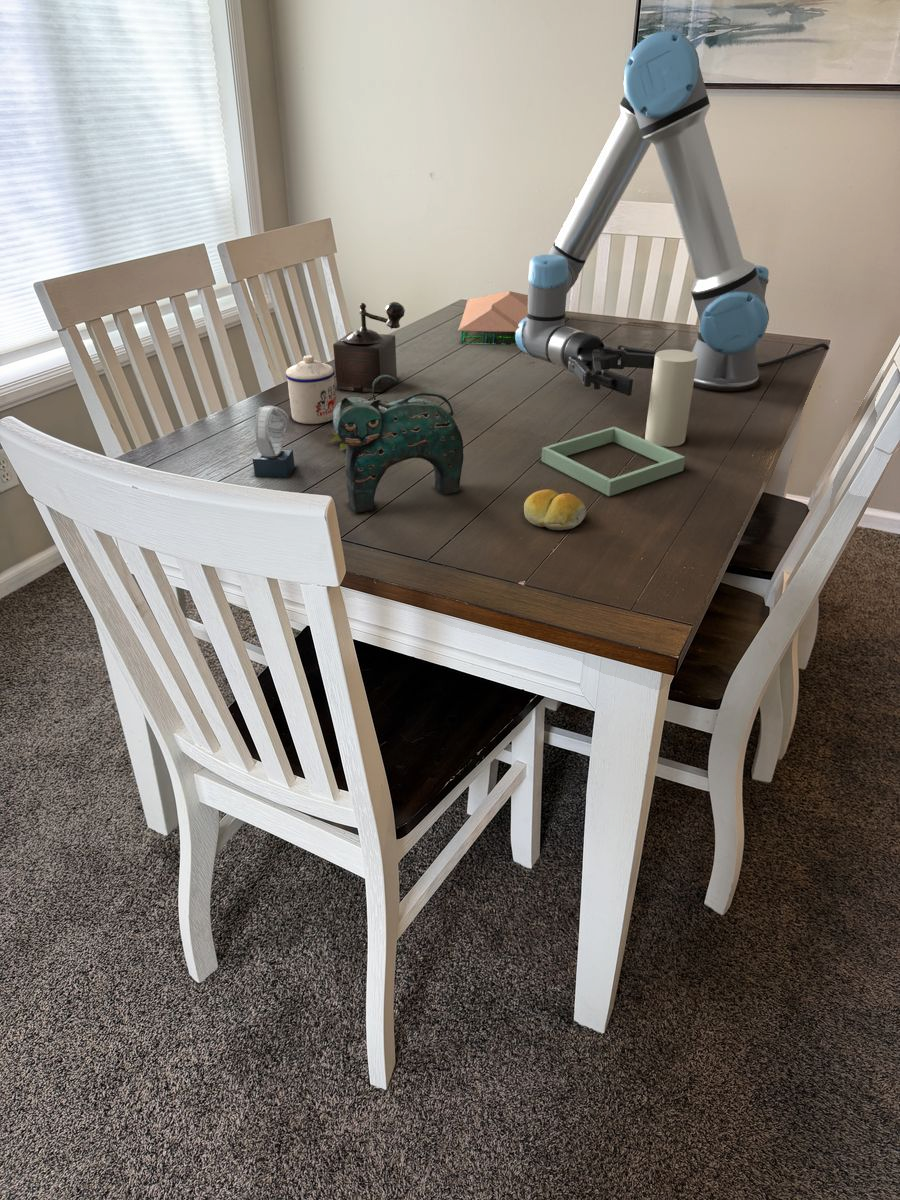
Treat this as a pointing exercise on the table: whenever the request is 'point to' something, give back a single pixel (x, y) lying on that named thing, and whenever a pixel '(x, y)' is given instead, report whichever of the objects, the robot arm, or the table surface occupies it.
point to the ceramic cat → (396, 442)
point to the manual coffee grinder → (368, 354)
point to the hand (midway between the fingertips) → (658, 380)
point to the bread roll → (554, 510)
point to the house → (494, 314)
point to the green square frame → (665, 467)
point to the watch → (272, 444)
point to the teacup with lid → (311, 391)
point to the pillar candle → (670, 397)
